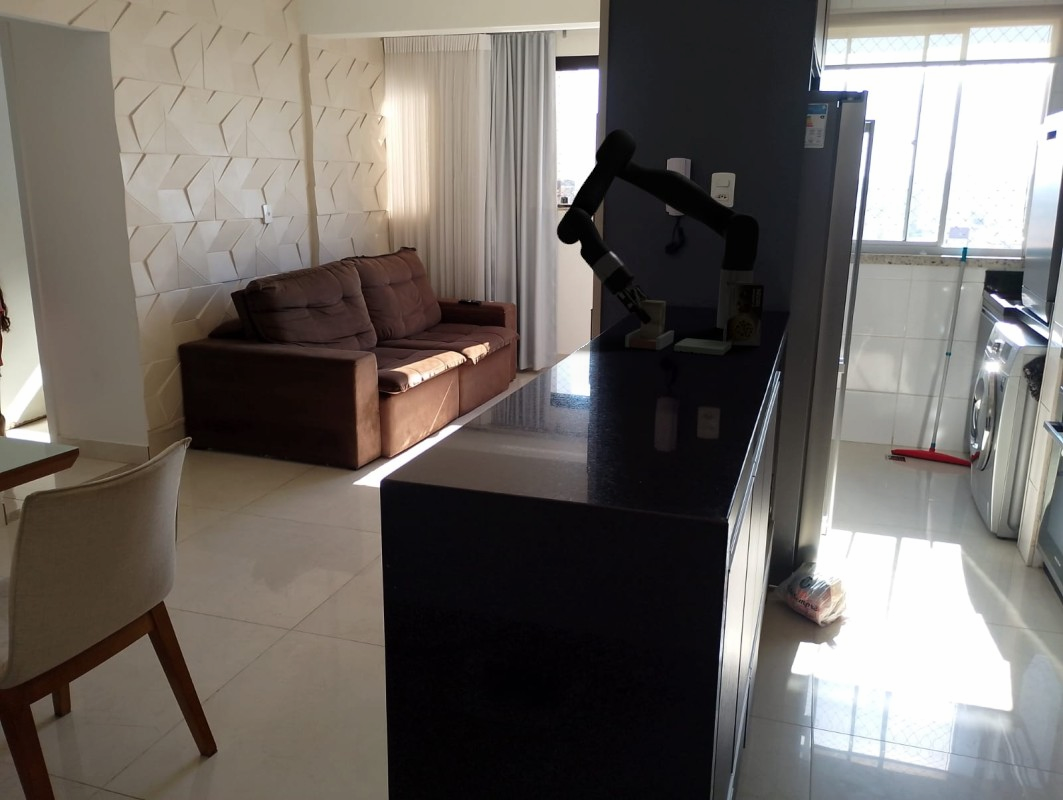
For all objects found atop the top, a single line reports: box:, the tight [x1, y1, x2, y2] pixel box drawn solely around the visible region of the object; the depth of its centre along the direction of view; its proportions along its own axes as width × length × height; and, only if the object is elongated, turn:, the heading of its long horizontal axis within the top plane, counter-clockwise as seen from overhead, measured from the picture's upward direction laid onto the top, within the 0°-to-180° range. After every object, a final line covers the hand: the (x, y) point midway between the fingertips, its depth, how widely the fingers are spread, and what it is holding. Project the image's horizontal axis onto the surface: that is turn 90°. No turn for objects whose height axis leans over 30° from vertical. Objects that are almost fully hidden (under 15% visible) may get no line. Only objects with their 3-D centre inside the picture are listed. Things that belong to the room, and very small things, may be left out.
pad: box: [673, 337, 733, 356], centre depth 219 cm, size 12×12×2 cm
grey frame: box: [624, 327, 675, 351], centre depth 224 cm, size 14×9×3 cm, turn 157°
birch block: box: [640, 299, 667, 340], centre depth 225 cm, size 5×5×11 cm
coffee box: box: [722, 281, 765, 347], centre depth 227 cm, size 9×6×16 cm
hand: (653, 320), depth 225 cm, fingers open, 8 cm apart
